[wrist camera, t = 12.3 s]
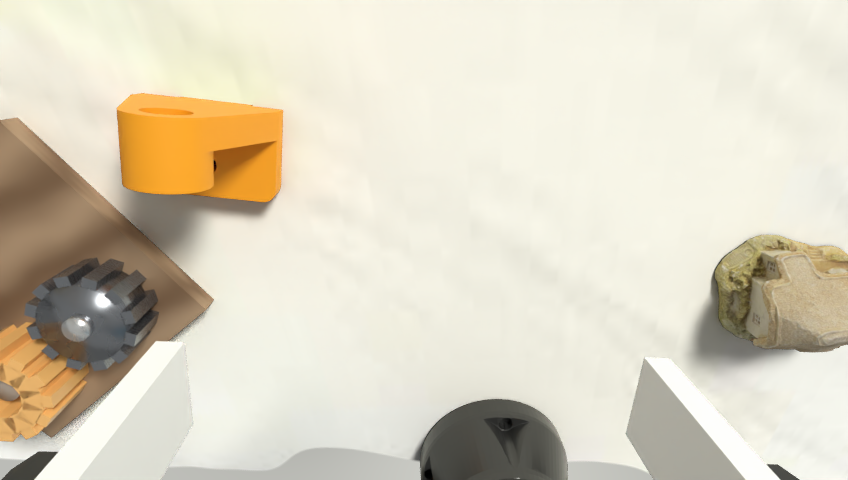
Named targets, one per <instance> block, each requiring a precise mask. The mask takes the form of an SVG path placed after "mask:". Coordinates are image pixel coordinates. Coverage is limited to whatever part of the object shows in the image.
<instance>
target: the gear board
mask: <svg viewBox="0 0 848 480" xmlns="http://www.w3.org/2000/svg"><path fill="white" fill-rule="evenodd" d="M95 257H97V259H98V261H99V263H100V265H102V264H103V263H105V262H106V261H107V260H109V259H110V258H111V259H115V260H118V261H121V262H124V266H123V272H125V273H127V274H128V275H130V274H131V273H133V272H134V271H135V270H138V271H139V272H140V273H141V274H142V275H143V276H144V277H146V278H147V279H146V280H145V281H143V282H142V283H141V284H140V285H141V286H142V288H143V289H144V291H147V290H153V289H154V290H155V293H156V295H157V298H158V302H157V303H156V304H155V305H154V306H153V307H151V308H150V309H151V310H154V311H157V312H159V316H158V320H157V323H156V324H155V325H154V326H153V327H152V328H151V329H150V331H151V332H150V333H149V334H148V336H147V337H146V338H145V339H144V340H143V341H142V342H141V343H140V344H139V345H138V346H137V347H136V348H135V349H134V351H133V352H132V353H131V354H130V355H129V356H128V357H127V358H126V359H124V360H123V361H122V362H121V363H120V364H118V363H117V362H116V361H115V362H114V363H113V364H112V365H111V366H110V367H109V368H108V369H105V370H99V371H94V370H93V368H92V365H91V363H90V362H88V368H89V373H88V374H87V375H86V376H85V377H84V378H83V379H82V380H84V381H86V382H87V383H86V385H85V386H84V388H83V390H82V391H81V392H80V393H79V394H78V395H77V396H76V397H75V398H74V399H73V400H72V401H71V402H70V403H69V404H68V405H67V406H66V407H65V408H64V409H63V410H62V412H61V413H60V414H59V415H58V416H57V417H56V418H55V419H54V420H53V421H52V422H51V423H50V424H49V425H48V426H47V427H44V428H43V429H42V431H43V432H44V433H46V434H47V435H49V436H50V437H51V438H52V437H53V436H54V435H55V434H56V433H58V432H59V431H60V430H61V429H63V428H64V427H65V426H66V425H67V424H69V423H70V422H71V421H72V420H73V419H75V418H76V417H77V416H78V415H79V414H81V413H82V412H83V411H84V410H85V409H87V408H88V407H89V406H90V405H92V404H93V403H94V402H95V401H96V400H98V399H99V398H100V397H101V396H102V395H104V394H105V393H106V392H107V391H108V390H110V389H111V388H112V387H113V386H115V385H116V384H117V383H118V382H119V381H121V380H122V379H123V378H124V377H125V376H126V375H127V374H128V373H129V371H130V370H131V369H132V368H133V367H134V366H135V365H136V363H137V362H138V361H139V360H140V359H141V358H142V357H143V355H144V354H145V353H146V352H147V351H148V350H149V349H150V347H151V346H152V345H153V344H154V343H155V342H156V341H167V342H168V341H169V340H170V339H171V338H173V337H174V336H175V335H176V334H177V333H179V332H180V331H181V330H182V329H183V328H185V327H186V326H187V325H188V324H189V323H191V322H192V321H193V320H194V319H195V318H197V317H198V316H199V315H200V314H202V313H203V312H204V311H205V310H206V309H207V308H208V307H209V305H210V304H211V303H212V302H213V300H214V299H213V298H212V297H210V296H209V295H208V294H207V293H206V292H205V291H204V290H203V289H202V288H201V287H200V286H199V285H198V284H196V283H195V282H194V281H193V280H192V279H191V278H190V277H189V276H188V275H187V274H186V273H185V272H183V271H182V270H181V269H180V268H179V267H178V266H177V265H176V264H175V263H174V262H173V261H172V260H171V259H169V258H168V257H167V256H166V255H165V254H164V253H163V252H162V251H161V250H160V249H159V248H158V247H156V246H155V245H154V244H153V243H152V242H151V241H150V240H149V239H148V238H147V237H146V236H145V235H144V234H142V233H141V232H140V231H139V230H138V229H137V228H136V227H135V226H134V225H133V224H132V223H131V222H129V221H128V220H127V219H126V218H125V217H124V216H123V215H122V214H121V213H120V212H119V211H118V210H116V209H115V208H114V207H113V206H112V205H111V204H110V203H109V202H108V201H107V200H106V199H105V198H104V197H102V196H101V195H100V194H99V193H98V192H97V191H96V190H95V189H94V188H93V187H92V186H91V185H89V184H88V183H87V182H86V181H85V180H84V179H83V178H82V177H81V176H80V175H79V174H78V173H77V172H75V171H74V170H73V169H72V168H71V167H70V166H69V165H68V164H67V163H66V162H65V161H64V160H62V159H61V158H60V157H59V156H58V155H57V154H56V153H55V152H54V151H53V150H52V149H51V148H50V147H48V146H47V145H46V144H45V143H44V142H43V141H42V140H41V139H40V138H39V137H38V136H37V135H35V134H34V133H33V132H32V131H31V130H30V129H29V128H28V127H27V126H26V125H25V124H24V123H23V122H21V121H20V120H19V119H18V118H13V119H5V120H0V331H1V330H2V329H4V328H6V327H9V326H11V325H13V324H14V325H15V327H16V328H18V327H20V326H21V325H23V324H24V323H26V322H30V323H34V322H35V321H36V319H35V318H32V317H28V316H25V315H24V312H25V305H26V303H27V302H29V301H30V300H32V299H33V298H35V297H36V296H35V295H34V294H33V293H32V292H33V291H34V290H35V289H36V288H37V287H38V286H39V285H40V284H42V283H43V282H45V281H47V280H48V279H50V278H52V277H53V276H55V275H57V274H58V273H60V272H61V271H63V270H65V269H66V268H68V267H70V266H71V265H76V264H77V263H79V262H81V261H82V260H84V259H89V258H95ZM19 396H20V395H19V394H18V392H17V391H16V390H15V389H14V388H13V387H12V386H11V385H8V384H6V383H4V382H2V381H0V399H2V400H5V401H13V400H15V399H17V398H18V397H19Z"/></svg>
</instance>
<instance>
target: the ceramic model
mask: <svg viewBox="0 0 848 480" xmlns="http://www.w3.org/2000/svg"><path fill="white" fill-rule="evenodd" d="M715 279H716V281H717V285H718V288H719V289H718V291H719V292H718V293H719V312H718V313H719V320H720V321H721V324H722V326H723V327H724V328H725V329H727V330H728V331H730V332H732V333H733V334H734V335H735V336H736V337H738V338H744V339H747V340H750V341H753V345H754V346H757V347H761V348H764V349H795V350H798V351H800V352H828V351H832V350H833V349H835V348H839V347H840V346H843V345H848V255H847V254H846V253H845V252H844V251H843V250H841V249H840V248H838V247H834V246H810V245H807V244H805V243H800V242H796V241H792V240H790V239H787V238H785V237H782V236H778V235H760V236H757V237H754V238H752V239H749V240H747V242H745V244H742V245H741V246H739V247H738V248H737V249H735V250H733V251H732V252H730V253H729V254H727V256H725V257H724V258H723V259H722V261H721V262H720V264H719V265H718V267H717V268H716V270H715Z"/></svg>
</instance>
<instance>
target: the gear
mask: <svg viewBox="0 0 848 480" xmlns="http://www.w3.org/2000/svg"><path fill="white" fill-rule="evenodd" d="M123 266H124V262H121V261H118V260H115V259H111V258H110V259H109V260H107V261H106V262H105V263H103V264H102V265H100V263H99V261H98V259H97V257H95V258H89V259H84V260H82V261H81V262H79V263H77V264H76V265H71V266H70V267H68V268H66V269H65V270H63V271H61V272H60V273H58V274H57V275H55V276H53V277H52V278H50V279H48V280H47V281H45V282H43V283H42V284H40V285H39V286H38V287H37V288H36V289H35V290H34V291H33V292H32V293H33V294H34V295H35V296H36V297H35V298H33V299H32V300H30V301H29V302H27V303H26V305H25V312H24V315H25V316H28V317H32V318H35V319H36V321H35V322H34V323H32V324H31V325H30V326H28V327H27V330H28V333H29V335H30V337H31V339H32V340H34V339H40V338H43V340H44V341H45V342H46V343H47V344H48V345H47V346H46V347H45V348H44V349H43V350H41V351H42V352H43V353H44V354H46V355H47V356H48V357H50V358H51V359H52V360H53V359H54V358H55V357H57V356H58V355H59V354H60V355H62V356H64V357H66V358H67V363H66V367H69V368H73V369H77V370H81V369H82V368H83V367H84V366H85V365H86V364H87V363H88V362H90V363H91V365H92V368H93V370H94V371H99V370H105V369H108V368H109V367H110V366H111V365H112V364H113V363H114V362H115V361H116V362H117V363H118V364H120V363H121V362H122V361H123V360H124V359H126V358H127V357H128V356H129V355H130V354H131V353H132V352H133V351H134V349H135V348H136V347H137V346H138V345H139V344H140V343H141V342H142V341H143V340H144V339H145V338H146V337H147V336H148V334H149V333H150V332H151V331H150V329H151V328H152V327H153V326H154V325H155V324H156V323H157V320H158V316H159V312H157V311H154V310H151V309H150V308H151V307H153V306H154V305H155V304H156V303H157V302H158V298H157V295H156V293H155V290H154V289H153V290H147V291H144V289H143V288H142V286H141V285H140V284H141V283H142V282H143V281H145V280H146V279H147V278H146V277H144V276H143V275H142V274H141V273H140V272H139V271H138V270H135V271H134V272H133V273H131V274H130V275H128V274H127V273H125V272H123Z"/></svg>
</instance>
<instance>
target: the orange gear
mask: <svg viewBox="0 0 848 480" xmlns="http://www.w3.org/2000/svg"><path fill="white" fill-rule="evenodd" d="M31 324H32V323H30V322H26V323H24V324H23V325H21V326H20V327H18V328H16V327H15V325H14V324H13V325H11V326H9V327H6V328H4V329H2V330H1V331H0V381H2V382H4V383H6V384H8V385H11V386H12V387H13V388H14V389H15V390H16V391H17V392H18V394H19V395H20V396H19V397H18V398H17V399H15V400H13V401H5V400H2V399H0V441H11V442H13V441H14V440H15V439H16V438H17V437H18V436H19V435H20V434H22V435H23V437H24V438H25V439H28V438H31V437H33V436H36V435H37V434H38V433H39V432H40V431H41V430H42V429H43V428H44V427H47V426H48V425H49V424H50V423H51V422H52V421H53V420H54V419H55V418H56V417H57V416H58V415H59V414H60V413H61V412H62V410H63V409H64V408H65V407H66V406H67V405H68V404H69V403H70V402H71V401H72V400H73V399H74V398H75V397H76V396H77V395H78V394H79V393H80V392H81V391H82V390H83V388H84V386H85V385H86V383H87V382H86V381H84V380H82V379H83V378H84V377H85V376H86V375H87V374H88V373H89V368H88V363H87V364H86V365H85V366H84V367H83V368H82V369H81V370H77V369H73V368H69V367H66V363H67V358H66V357H64V356H62V355H60V354H59V355H58V356H57V357H55V358H54V359H53V360H52V359H51V358H50V357H48V356H47V355H46V354H44V353H43V352H42V351H41V350H43V349H44V348H45V347H46V346H47V345H48V344H47V343H46V342H45V341H44V340H43V338H40V339H34V340H32V339H31V337H30V335H29V333H28V330H27V327H28V326H30V325H31Z"/></svg>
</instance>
